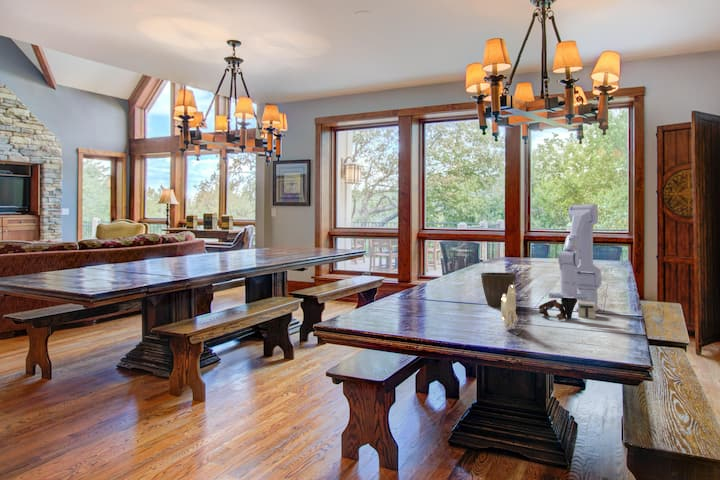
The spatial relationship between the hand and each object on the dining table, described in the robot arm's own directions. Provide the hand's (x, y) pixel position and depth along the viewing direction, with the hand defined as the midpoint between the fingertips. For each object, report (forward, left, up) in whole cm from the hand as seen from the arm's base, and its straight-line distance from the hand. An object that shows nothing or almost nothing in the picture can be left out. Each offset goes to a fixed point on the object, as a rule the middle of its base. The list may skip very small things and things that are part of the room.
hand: (569, 318), depth 185 cm
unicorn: (+27, -14, -1) cm, 31 cm away
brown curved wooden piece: (-1, -3, -2) cm, 4 cm away
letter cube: (-11, +4, -1) cm, 12 cm away
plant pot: (-12, -32, -1) cm, 34 cm away
